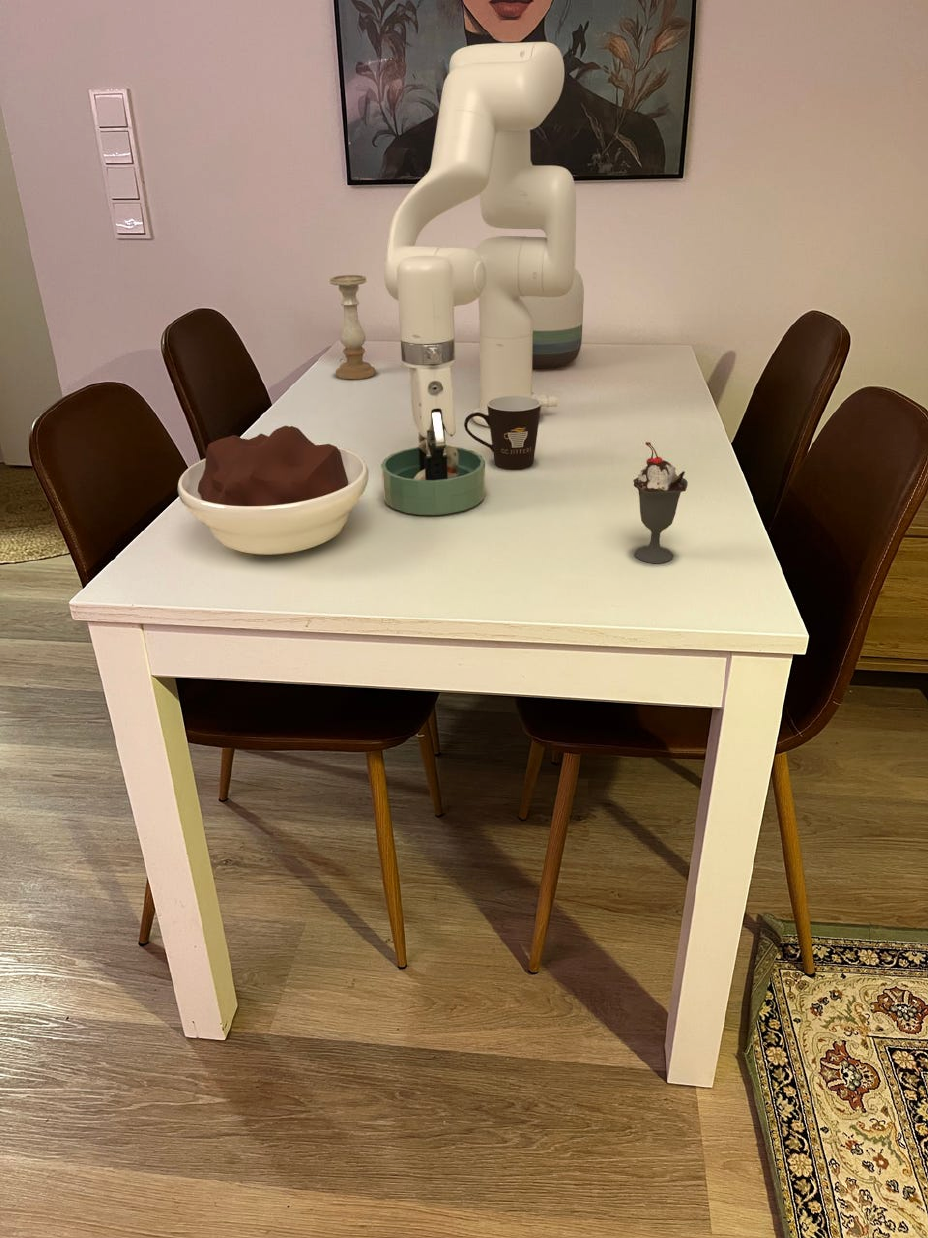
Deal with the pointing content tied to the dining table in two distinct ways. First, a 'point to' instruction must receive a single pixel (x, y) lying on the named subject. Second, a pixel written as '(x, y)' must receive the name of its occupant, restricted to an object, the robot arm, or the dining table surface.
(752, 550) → the dining table surface
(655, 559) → the sundae
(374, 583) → the dining table surface
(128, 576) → the dining table surface
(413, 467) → the bowl
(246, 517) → the cream round dish
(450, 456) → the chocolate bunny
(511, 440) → the coffee mug
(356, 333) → the candle holder
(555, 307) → the vase
